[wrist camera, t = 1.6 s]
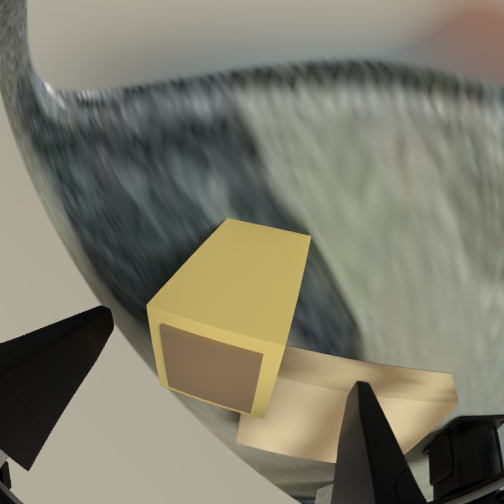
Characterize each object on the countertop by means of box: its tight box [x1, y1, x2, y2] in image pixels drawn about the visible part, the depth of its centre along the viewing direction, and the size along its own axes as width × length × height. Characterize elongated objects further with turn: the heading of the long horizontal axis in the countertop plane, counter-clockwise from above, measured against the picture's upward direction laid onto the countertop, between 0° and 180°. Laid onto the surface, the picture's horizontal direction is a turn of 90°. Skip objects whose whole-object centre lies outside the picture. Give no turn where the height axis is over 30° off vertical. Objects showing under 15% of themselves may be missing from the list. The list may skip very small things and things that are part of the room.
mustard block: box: [147, 218, 311, 419], centre depth 11 cm, size 4×4×7 cm
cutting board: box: [236, 345, 458, 463], centre depth 17 cm, size 13×10×2 cm
